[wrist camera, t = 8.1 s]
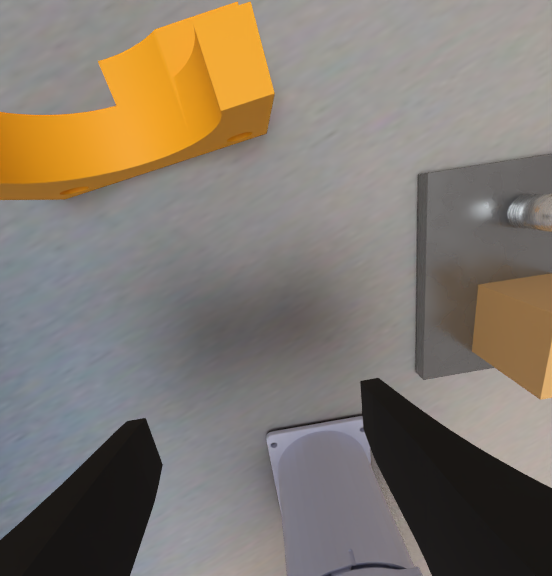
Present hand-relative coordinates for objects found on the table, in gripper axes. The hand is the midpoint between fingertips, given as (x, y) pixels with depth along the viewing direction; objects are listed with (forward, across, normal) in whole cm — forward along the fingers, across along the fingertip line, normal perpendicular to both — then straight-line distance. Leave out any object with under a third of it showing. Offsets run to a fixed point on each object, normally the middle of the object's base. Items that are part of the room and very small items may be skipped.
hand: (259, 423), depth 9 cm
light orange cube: (+9, -17, +3) cm, 19 cm away
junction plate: (+10, -17, 0) cm, 20 cm away
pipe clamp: (+10, +4, -12) cm, 16 cm away
